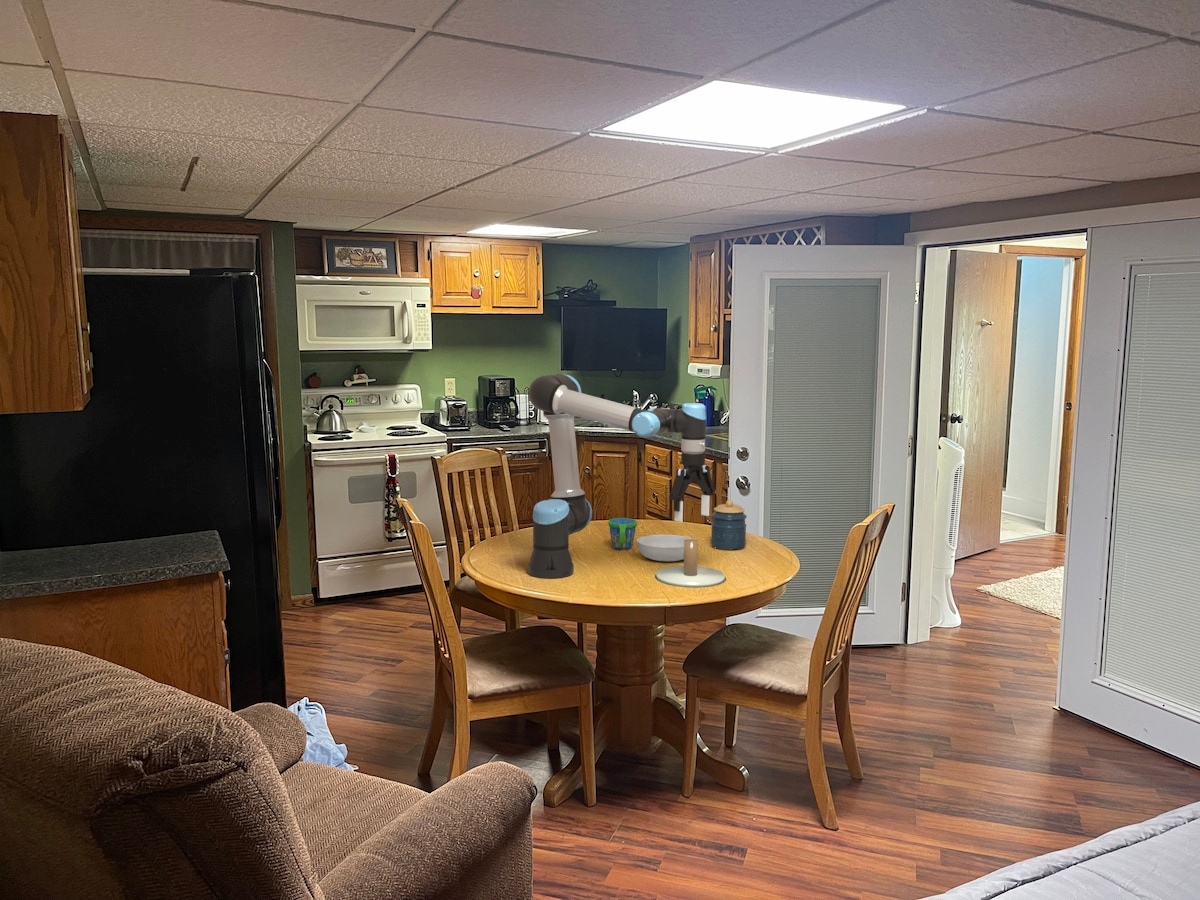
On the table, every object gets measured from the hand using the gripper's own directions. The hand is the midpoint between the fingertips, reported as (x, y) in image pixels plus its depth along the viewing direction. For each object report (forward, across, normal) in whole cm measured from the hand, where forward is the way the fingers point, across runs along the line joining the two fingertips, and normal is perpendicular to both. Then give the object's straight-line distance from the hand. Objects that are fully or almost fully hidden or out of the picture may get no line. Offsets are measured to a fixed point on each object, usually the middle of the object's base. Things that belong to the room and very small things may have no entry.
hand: (692, 518), depth 282 cm
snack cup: (+20, +15, +44) cm, 51 cm away
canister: (+20, +45, +18) cm, 52 cm away
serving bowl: (+20, +14, +22) cm, 33 cm away
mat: (+20, 0, 0) cm, 20 cm away
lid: (+19, 0, 0) cm, 19 cm away
